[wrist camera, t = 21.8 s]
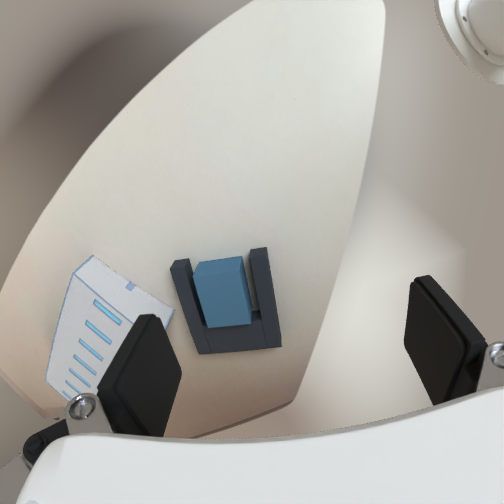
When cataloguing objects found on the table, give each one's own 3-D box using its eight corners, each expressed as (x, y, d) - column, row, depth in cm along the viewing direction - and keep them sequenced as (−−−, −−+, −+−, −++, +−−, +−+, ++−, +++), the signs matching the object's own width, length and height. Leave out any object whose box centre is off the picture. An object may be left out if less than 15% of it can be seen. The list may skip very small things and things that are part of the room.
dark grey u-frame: (266, 246, 38) (266, 254, 35) (281, 336, 43) (281, 347, 40) (175, 260, 39) (169, 268, 37) (201, 343, 44) (198, 354, 42)
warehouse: (92, 254, 39) (65, 279, 32) (174, 309, 42) (159, 343, 35) (57, 362, 49) (40, 386, 42) (115, 400, 52) (102, 427, 45)
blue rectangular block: (241, 256, 38) (239, 269, 35) (252, 306, 41) (250, 323, 37) (199, 262, 39) (192, 276, 35) (212, 311, 42) (207, 328, 38)
